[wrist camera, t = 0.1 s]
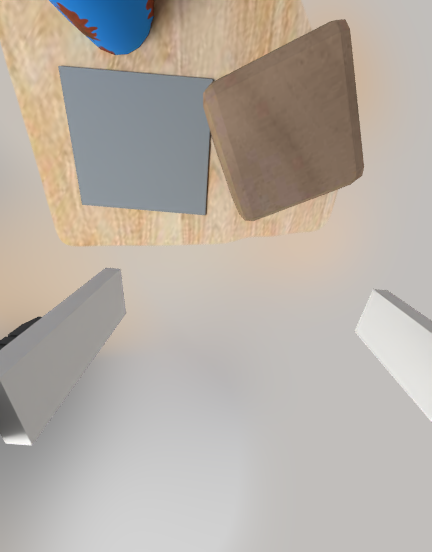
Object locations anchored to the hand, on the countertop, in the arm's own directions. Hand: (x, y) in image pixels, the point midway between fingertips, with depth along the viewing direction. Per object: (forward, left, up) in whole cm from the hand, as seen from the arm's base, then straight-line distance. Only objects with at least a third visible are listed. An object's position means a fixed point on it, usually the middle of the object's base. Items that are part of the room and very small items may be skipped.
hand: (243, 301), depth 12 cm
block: (-9, +3, -28) cm, 30 cm away
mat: (-9, -15, -28) cm, 33 cm away
